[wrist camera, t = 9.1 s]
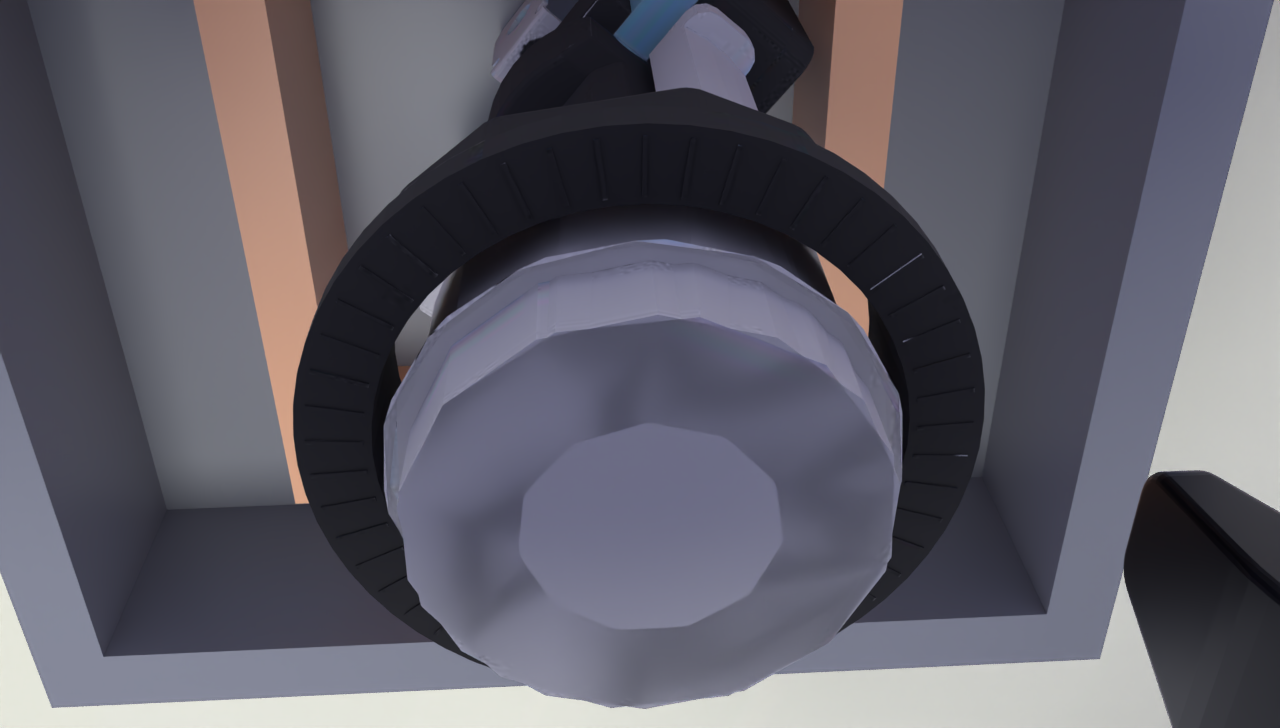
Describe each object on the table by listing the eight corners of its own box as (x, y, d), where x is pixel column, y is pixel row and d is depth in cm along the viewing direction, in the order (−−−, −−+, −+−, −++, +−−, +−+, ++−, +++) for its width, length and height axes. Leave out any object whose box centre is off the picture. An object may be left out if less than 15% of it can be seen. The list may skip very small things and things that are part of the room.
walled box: (1237, -614, 14) (1453, -679, 11) (1018, 497, 22) (1100, 658, 19) (-210, -605, 13) (-474, -674, 10) (130, 534, 22) (51, 708, 18)
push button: (580, 359, 20) (591, 939, 11) (289, 166, 18) (38, 694, 9) (876, 40, 17) (1180, 478, 9) (575, -227, 15) (592, 3, 7)
